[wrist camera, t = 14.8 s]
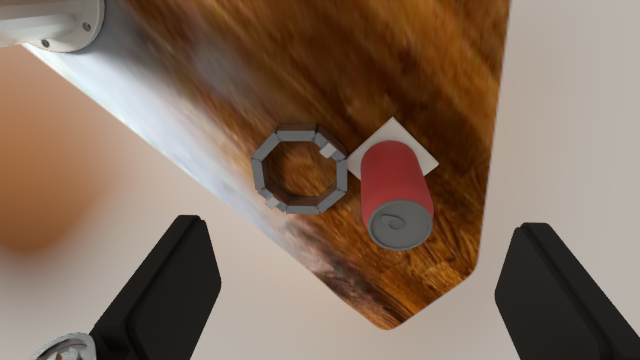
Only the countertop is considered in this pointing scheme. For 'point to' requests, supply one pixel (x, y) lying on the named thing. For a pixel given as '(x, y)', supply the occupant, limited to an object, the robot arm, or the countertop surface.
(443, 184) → the countertop surface
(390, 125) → the plate
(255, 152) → the collar
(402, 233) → the beer can
